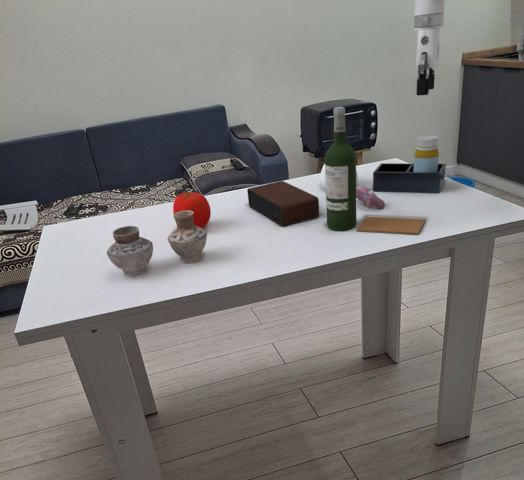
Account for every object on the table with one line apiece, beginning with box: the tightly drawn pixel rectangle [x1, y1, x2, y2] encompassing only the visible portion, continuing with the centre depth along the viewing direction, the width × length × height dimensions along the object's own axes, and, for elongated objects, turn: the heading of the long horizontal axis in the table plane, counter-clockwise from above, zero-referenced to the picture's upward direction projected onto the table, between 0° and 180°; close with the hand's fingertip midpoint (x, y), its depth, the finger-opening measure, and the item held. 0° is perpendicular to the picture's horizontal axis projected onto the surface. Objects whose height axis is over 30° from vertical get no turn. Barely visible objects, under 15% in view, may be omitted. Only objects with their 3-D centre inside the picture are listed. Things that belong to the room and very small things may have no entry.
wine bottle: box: [324, 106, 357, 232], centre depth 138 cm, size 8×8×30 cm
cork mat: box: [356, 215, 426, 236], centre depth 142 cm, size 16×10×1 cm, turn 66°
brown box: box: [246, 180, 320, 228], centre depth 159 cm, size 24×12×6 cm, turn 25°
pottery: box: [106, 210, 208, 277], centre depth 133 cm, size 11×25×12 cm, turn 109°
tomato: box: [172, 191, 212, 229], centre depth 153 cm, size 10×11×11 cm
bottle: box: [413, 134, 440, 173], centre depth 163 cm, size 7×7×15 cm
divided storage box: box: [372, 162, 447, 194], centre depth 167 cm, size 20×10×6 cm, turn 66°
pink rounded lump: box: [356, 185, 386, 210], centre depth 156 cm, size 10×5×7 cm, turn 22°
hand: (425, 92), depth 153 cm, fingers open, 9 cm apart
